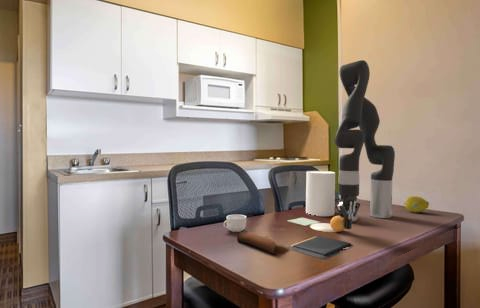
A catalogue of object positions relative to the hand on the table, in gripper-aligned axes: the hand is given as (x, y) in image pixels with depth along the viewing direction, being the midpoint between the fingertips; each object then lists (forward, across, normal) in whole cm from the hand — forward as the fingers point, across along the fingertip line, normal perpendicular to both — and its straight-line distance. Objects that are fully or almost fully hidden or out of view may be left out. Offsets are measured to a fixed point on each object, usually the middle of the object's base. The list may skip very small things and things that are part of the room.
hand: (347, 228), depth 123 cm
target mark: (+2, -1, -10) cm, 10 cm away
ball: (-1, 0, -4) cm, 4 cm away
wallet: (+3, +21, +4) cm, 21 cm away
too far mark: (+2, -1, -22) cm, 22 cm away
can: (+2, -19, -12) cm, 22 cm away
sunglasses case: (+3, +35, -8) cm, 37 cm away
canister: (+1, -21, -29) cm, 36 cm away
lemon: (+1, -62, -2) cm, 62 cm away
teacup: (+2, +32, -28) cm, 43 cm away
